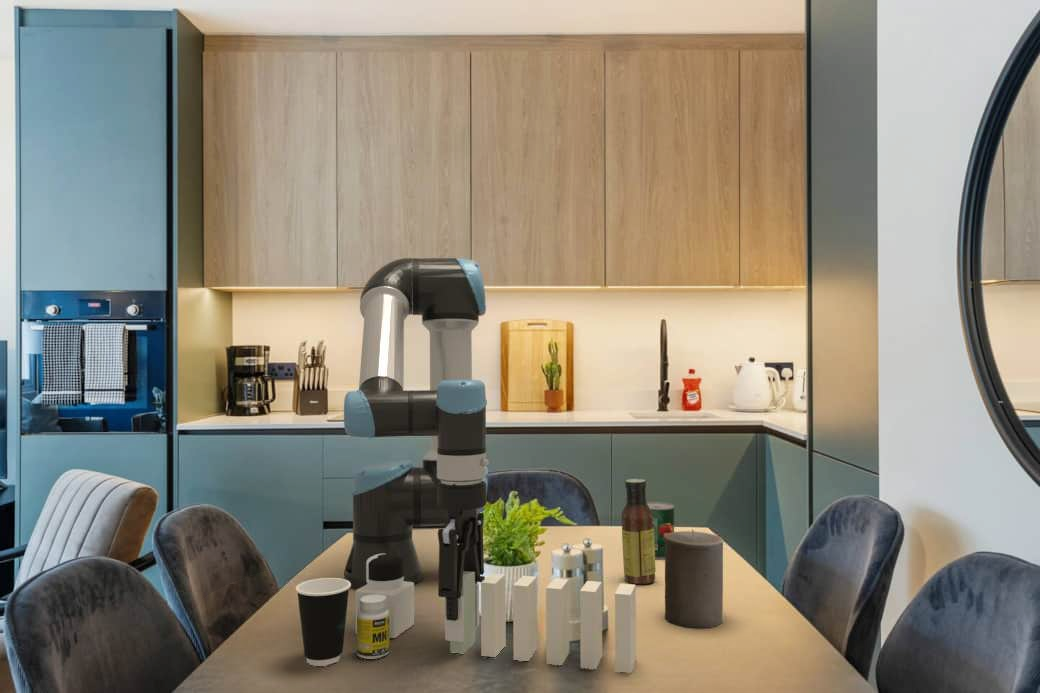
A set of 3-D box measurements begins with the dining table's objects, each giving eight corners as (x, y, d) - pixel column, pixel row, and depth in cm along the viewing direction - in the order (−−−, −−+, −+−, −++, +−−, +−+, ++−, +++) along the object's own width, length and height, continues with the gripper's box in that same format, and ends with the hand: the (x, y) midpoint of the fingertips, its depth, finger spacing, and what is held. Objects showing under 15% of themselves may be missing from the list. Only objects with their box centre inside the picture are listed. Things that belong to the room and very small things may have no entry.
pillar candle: (659, 624, 128) (660, 533, 128) (669, 606, 137) (669, 521, 137) (720, 632, 124) (720, 538, 124) (726, 612, 134) (726, 525, 134)
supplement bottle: (374, 663, 112) (373, 605, 113) (350, 656, 115) (350, 599, 115) (396, 652, 117) (395, 596, 117) (372, 646, 119) (372, 591, 119)
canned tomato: (638, 549, 177) (638, 501, 177) (673, 550, 176) (673, 502, 176) (638, 559, 169) (638, 508, 169) (675, 560, 168) (675, 509, 168)
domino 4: (580, 668, 110) (580, 590, 110) (587, 655, 115) (587, 580, 115) (595, 669, 110) (595, 592, 110) (602, 656, 114) (601, 582, 115)
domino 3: (546, 664, 112) (546, 587, 112) (555, 651, 116) (554, 578, 117) (561, 665, 111) (560, 589, 111) (569, 653, 116) (568, 579, 116)
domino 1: (481, 656, 115) (480, 582, 115) (492, 644, 119) (491, 573, 119) (495, 658, 114) (495, 583, 114) (505, 646, 119) (505, 574, 119)
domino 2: (513, 660, 113) (513, 585, 113) (523, 648, 118) (522, 575, 118) (528, 662, 112) (527, 586, 113) (537, 649, 117) (536, 576, 117)
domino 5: (615, 672, 109) (614, 593, 109) (621, 658, 114) (620, 583, 114) (631, 673, 108) (630, 594, 108) (636, 660, 113) (635, 584, 113)
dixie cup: (359, 662, 113) (359, 586, 113) (306, 675, 108) (306, 597, 108) (339, 646, 119) (338, 574, 119) (288, 657, 115) (287, 583, 115)
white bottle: (415, 624, 128) (414, 552, 129) (394, 639, 122) (394, 563, 122) (377, 620, 131) (376, 549, 131) (354, 634, 124) (354, 559, 124)
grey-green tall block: (450, 653, 116) (449, 579, 116) (462, 641, 121) (461, 570, 121) (463, 654, 115) (463, 580, 115) (475, 642, 120) (474, 571, 120)
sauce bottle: (654, 576, 155) (653, 477, 155) (656, 586, 149) (656, 482, 149) (621, 576, 156) (620, 477, 156) (622, 585, 150) (621, 482, 150)
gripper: (462, 492, 108) (463, 658, 108) (504, 472, 126) (504, 614, 126) (413, 490, 110) (414, 652, 110) (461, 470, 128) (461, 610, 128)
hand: (462, 632), depth 118 cm, fingers open, 6 cm apart
